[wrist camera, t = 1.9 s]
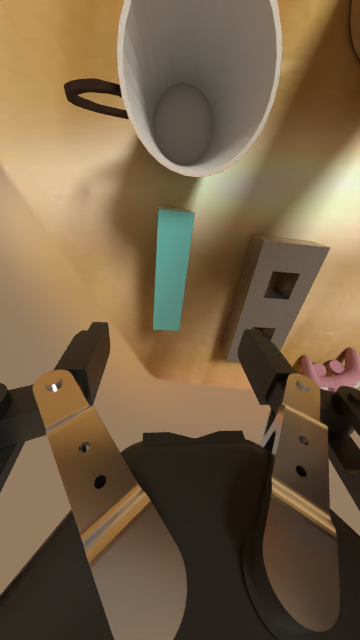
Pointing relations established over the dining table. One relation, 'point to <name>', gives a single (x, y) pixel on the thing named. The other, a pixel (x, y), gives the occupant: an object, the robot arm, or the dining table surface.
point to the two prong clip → (171, 266)
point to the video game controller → (334, 371)
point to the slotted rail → (271, 304)
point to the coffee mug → (193, 78)
